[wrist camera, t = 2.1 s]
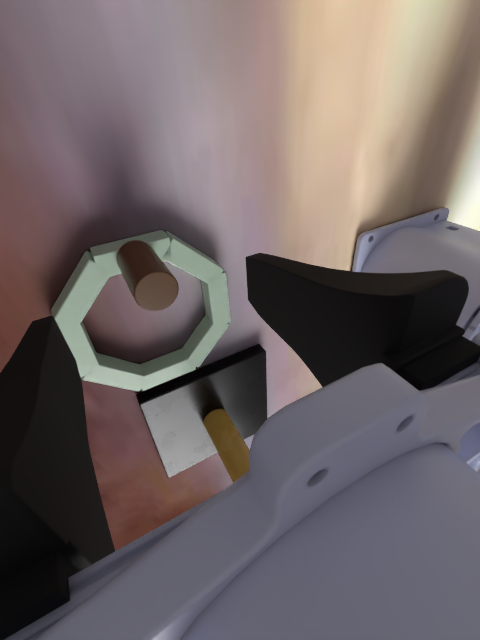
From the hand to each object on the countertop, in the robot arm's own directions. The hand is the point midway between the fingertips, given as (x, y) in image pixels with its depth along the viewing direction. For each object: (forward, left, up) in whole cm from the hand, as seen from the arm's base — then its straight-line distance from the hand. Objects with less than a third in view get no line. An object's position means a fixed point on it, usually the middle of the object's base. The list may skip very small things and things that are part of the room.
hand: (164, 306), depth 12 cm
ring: (0, +4, -6) cm, 7 cm away
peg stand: (-3, +15, -6) cm, 16 cm away
